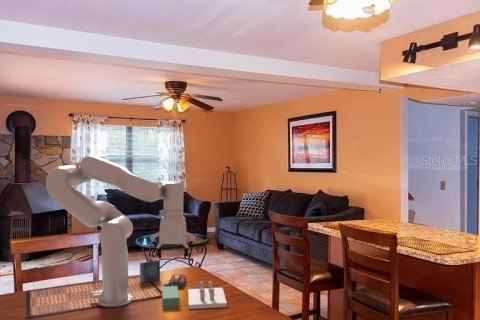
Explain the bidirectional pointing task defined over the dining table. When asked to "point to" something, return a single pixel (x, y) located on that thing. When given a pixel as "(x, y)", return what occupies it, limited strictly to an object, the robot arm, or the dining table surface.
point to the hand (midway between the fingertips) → (172, 258)
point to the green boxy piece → (170, 297)
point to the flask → (149, 270)
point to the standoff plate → (206, 297)
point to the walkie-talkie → (176, 281)
